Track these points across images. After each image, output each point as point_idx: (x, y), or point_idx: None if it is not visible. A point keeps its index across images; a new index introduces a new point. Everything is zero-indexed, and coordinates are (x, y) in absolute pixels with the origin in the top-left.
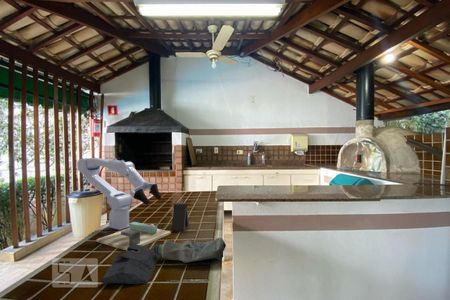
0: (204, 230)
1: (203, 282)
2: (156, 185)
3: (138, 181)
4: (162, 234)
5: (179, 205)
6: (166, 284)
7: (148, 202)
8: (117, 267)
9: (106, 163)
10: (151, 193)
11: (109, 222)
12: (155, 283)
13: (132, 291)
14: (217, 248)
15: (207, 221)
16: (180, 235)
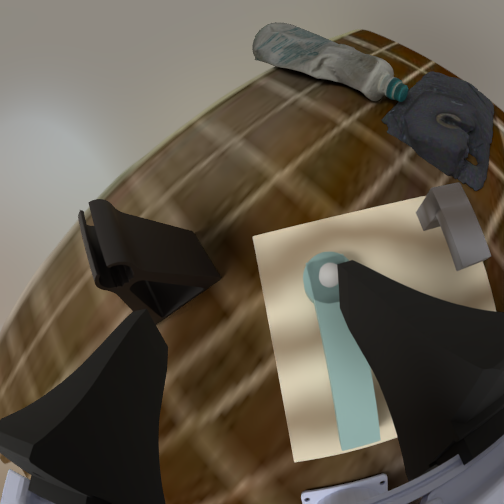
0: (154, 184)
1: (353, 37)
2: (16, 419)
3: None
4: (302, 230)
5: (112, 227)
6: (402, 56)
7: (356, 262)
8: (478, 104)
9: None
10: (156, 473)
11: None
12: (417, 65)
13: (449, 75)
14: (293, 27)
15: (79, 257)
16: (241, 197)
